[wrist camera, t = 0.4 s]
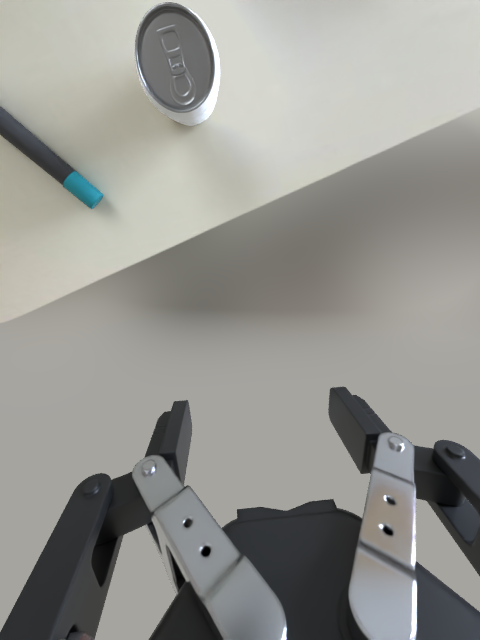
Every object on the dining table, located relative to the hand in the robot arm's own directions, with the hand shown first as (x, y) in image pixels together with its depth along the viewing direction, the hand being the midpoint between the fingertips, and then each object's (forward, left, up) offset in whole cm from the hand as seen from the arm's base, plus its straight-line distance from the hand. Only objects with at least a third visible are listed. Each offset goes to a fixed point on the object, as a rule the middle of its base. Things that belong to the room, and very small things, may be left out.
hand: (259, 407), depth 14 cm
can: (-15, +8, -29) cm, 34 cm away
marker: (-23, -8, -29) cm, 38 cm away
